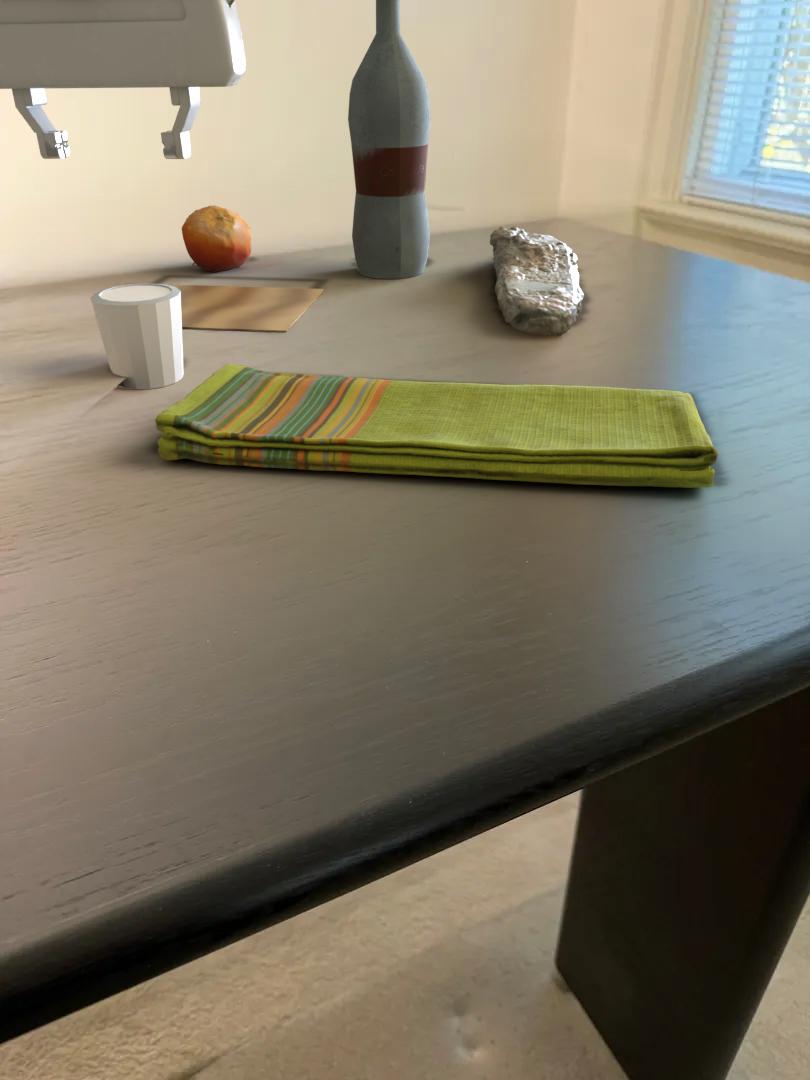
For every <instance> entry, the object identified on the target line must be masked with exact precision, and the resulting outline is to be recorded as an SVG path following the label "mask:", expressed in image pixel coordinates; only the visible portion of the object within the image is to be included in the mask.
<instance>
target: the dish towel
mask: <svg viewBox="0 0 810 1080" xmlns="http://www.w3.org/2000/svg"><path fill="white" fill-rule="evenodd" d="M698 410H699V409H698V408H697V406H696V403H695V401H694V396H692V394H691V393H690V392H683V391H680V390H673V389H672V390H669V389H646V388H627V387H610V386H589V385H588V386H587V385H584V386H583V385H564V384H563V385H562V384H498V383H497V384H495V383H475V382H443V381H442V382H440V381H432V382H430V381H413V380H393V379H392V380H391V379H379V378H378V379H377V378H363V377H345V376H333V375H332V376H331V375H322V374H321V375H319V374H305V373H293V372H292V373H291V372H288V373H287V372H274V371H273V372H272V371H266V370H260V369H256V368H253V367H250V366H247V365H242V364H236V363H227V364H224V365H223V366H222V367H220V368H219V369H217V370H216V371H215V372H213V373H212V374H211V375H210V376H209V377H207V378H206V379H205V380H204V381H203V382H201V383H200V384H199V385H198V386H196V387H195V389H193V390H192V391H191V392H190V393H188V394H187V395H186V396H185V397H184V399H181V400H178V401H177V402H176V403H175V404H172V405H171V406H167V408H165V409H163V410H162V411H161V412H160V413H158V414H157V415H156V416H155V419H154V422H155V426H156V429H157V431H161V432H162V433H161V436H160V438H159V439H157V445H158V449H157V451H158V452H157V453H158V454H159V457H160V458H161V459H162V460H166V461H177V460H183V459H188V460H192V461H195V462H201V463H206V464H214V465H222V466H223V465H225V466H246V467H254V468H272V469H273V468H274V469H288V470H289V469H290V470H304V471H327V472H329V471H330V472H349V473H351V472H352V473H366V474H367V473H368V474H385V475H386V474H387V475H405V476H407V475H409V476H410V475H411V476H426V477H427V476H428V477H429V476H430V477H441V478H443V477H445V478H465V479H477V480H478V479H479V480H492V481H493V480H495V481H512V482H515V481H516V482H529V483H532V482H533V483H547V484H548V483H549V484H567V485H585V486H587V485H588V486H614V487H615V486H617V487H656V488H658V487H659V488H686V489H687V488H690V489H691V488H696V489H697V488H712V487H713V486H714V479H715V473H716V471H715V468H714V469H713V468H711V466H714V465H715V464H716V463H717V458H718V455H719V452H718V449H717V448H716V447H714V444H713V441H712V439H711V437H710V435H709V434H708V432H707V430H706V427H705V425H704V424H703V422H702V419H701V416H700V415H699V411H698Z"/></svg>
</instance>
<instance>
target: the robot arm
mask: <svg viewBox="0 0 810 1080" xmlns="http://www.w3.org/2000/svg"><path fill="white" fill-rule="evenodd" d="M246 72H247V58H246V50H245V44H244V38H243V32H242V26H241V23H240V16H239V12H238V9H237V5H236V0H0V90H11V91H12V92H11V93H12V96H13V101H14V107H15V108H16V109H17V111H18V112H19V114H20V115H21V117H22V118H23V120H24V121H25V122H26V123H27V125H28V126H29V127H30V129H31V130H32V132H33V133H35V135H36V140H37V145H38V149H39V153H40V156H41V158H42V159H44V160H61V159H67V158H69V157H70V155H71V148H70V146H69V145H68V141H69V137H68V132H67V130H57V129H56V128H55V126H54V124H53V123H52V121H51V120H50V118H49V117H48V115H47V114H46V112H45V110H44V109H43V107H42V106H44V105H47V104H48V99H47V94H46V89H117V88H118V89H129V88H132V89H133V88H134V89H135V88H136V89H138V88H141V89H142V88H144V89H146V88H168V89H169V95H170V102H171V105H172V106H173V107H174V106H176V107H177V106H178V107H179V109H178V111H177V113H176V117H175V120H174V122H173V126H172V129H171V130H166V131H162V132H160V137H161V138H160V139H161V144H163V146H164V147H163V149H162V153H163V157H164V158H165V159H166V160H186V159H190V158H191V157H192V144H191V137H190V131H191V129H192V127H193V124H194V123H195V119H196V117H197V115H198V113H199V109H200V108H201V104H202V101H201V92H200V88H226V87H227V88H228V87H233V86H238V84H239V83H240V82H241V80H242V79H243V77H244V76H245V73H246Z"/></svg>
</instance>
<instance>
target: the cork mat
mask: <svg viewBox="0 0 810 1080" xmlns="http://www.w3.org/2000/svg"><path fill="white" fill-rule="evenodd" d="M167 285H169V286H174V287H176V288H178V289H179V290H180V292H181V317H182V329H187V330H189V329H191V330H193V329H194V330H214V331H215V330H217V331H218V330H219V331H221V330H222V331H244V332H245V331H247V332H271V333H288V331H289V330H290V329H291V328H292V327H293V325H295V324H296V322H297V321H298V320H299V319H300V318H301V317H302V316H303V314H304V313H305V312H306V311H307V310H308V309H309V308H310V307H311V305H312V304H313V303H314V302H315V301H316V300H317V299H318V297H319V296H320V295H321V294H322V293H323V292H324V290H325V289H324V288H304V287H303V288H302V287H301V288H300V287H273V286H272V287H271V286H269V287H268V286H267V287H266V286H264V287H263V286H237V285H235V286H233V285H231V286H230V285H206V284H205V285H204V284H203V285H202V284H199V285H198V284H171V283H170V284H167Z"/></svg>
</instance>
